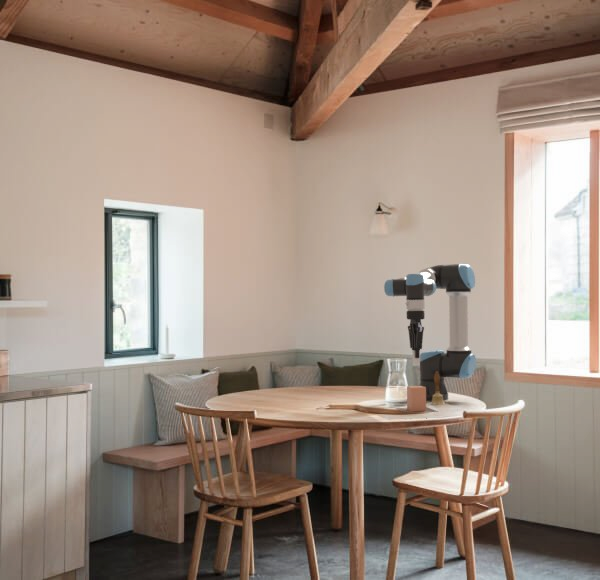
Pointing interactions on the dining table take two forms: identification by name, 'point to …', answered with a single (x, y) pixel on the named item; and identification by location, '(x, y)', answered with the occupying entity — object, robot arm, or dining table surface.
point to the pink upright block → (416, 398)
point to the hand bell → (437, 391)
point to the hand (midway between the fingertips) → (416, 365)
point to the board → (416, 411)
